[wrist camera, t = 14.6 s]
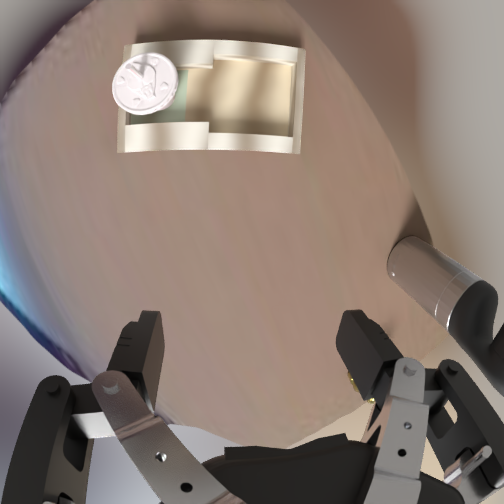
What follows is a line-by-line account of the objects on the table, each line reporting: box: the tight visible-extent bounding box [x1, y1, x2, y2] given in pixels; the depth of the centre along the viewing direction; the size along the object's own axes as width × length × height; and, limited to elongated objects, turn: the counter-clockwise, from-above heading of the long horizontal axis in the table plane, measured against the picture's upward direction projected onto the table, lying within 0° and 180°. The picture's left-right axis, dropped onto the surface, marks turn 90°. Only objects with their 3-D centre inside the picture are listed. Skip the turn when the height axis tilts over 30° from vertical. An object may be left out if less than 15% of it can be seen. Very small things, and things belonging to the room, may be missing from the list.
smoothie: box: [112, 52, 178, 115], centre depth 23 cm, size 6×6×14 cm
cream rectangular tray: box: [117, 40, 305, 154], centre depth 29 cm, size 22×14×4 cm, turn 87°
